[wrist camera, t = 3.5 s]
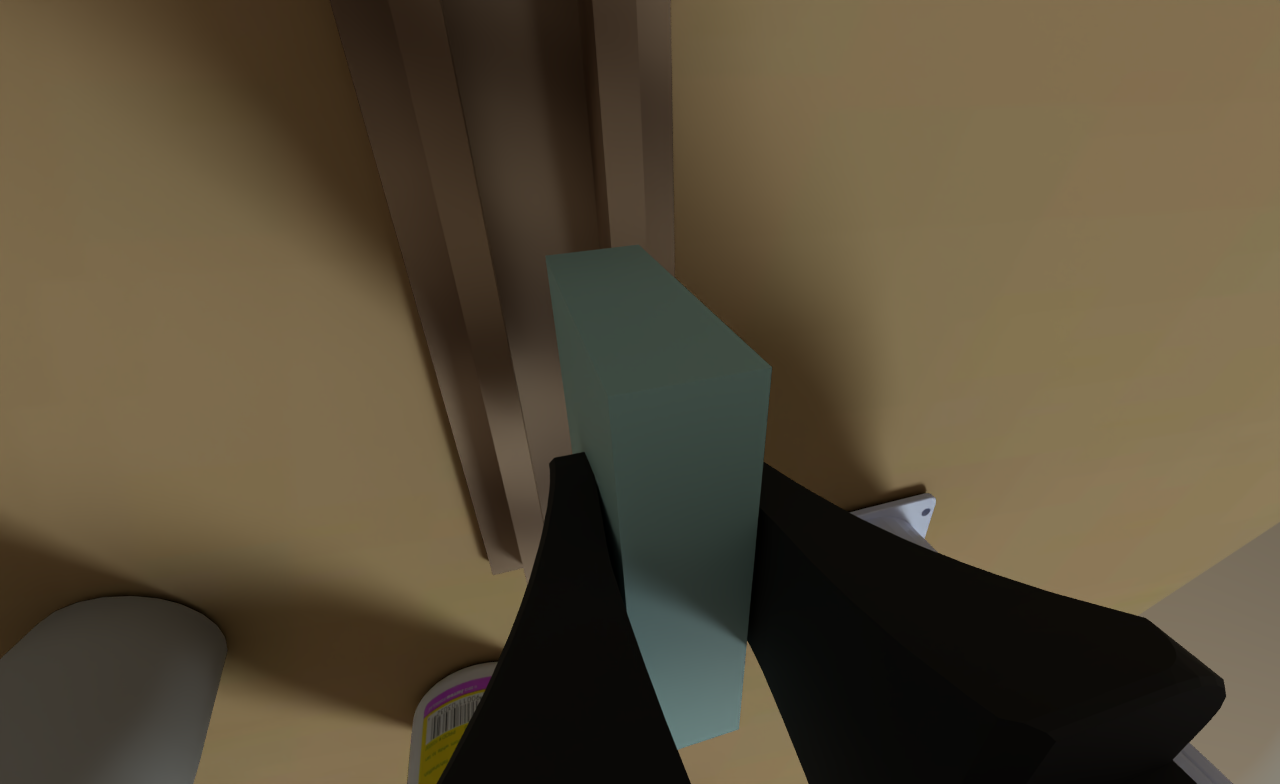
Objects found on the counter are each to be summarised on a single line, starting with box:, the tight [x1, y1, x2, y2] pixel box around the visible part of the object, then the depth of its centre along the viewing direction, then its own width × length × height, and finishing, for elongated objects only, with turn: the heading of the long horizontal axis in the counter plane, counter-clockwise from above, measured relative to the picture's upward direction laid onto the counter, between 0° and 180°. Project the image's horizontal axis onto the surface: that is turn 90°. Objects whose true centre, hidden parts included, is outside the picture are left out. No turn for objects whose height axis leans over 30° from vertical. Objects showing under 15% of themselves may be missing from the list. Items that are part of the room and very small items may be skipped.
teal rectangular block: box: [545, 245, 772, 750], centre depth 11 cm, size 8×2×6 cm, turn 2°
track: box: [330, 0, 675, 585], centre depth 14 cm, size 21×8×7 cm, turn 2°
